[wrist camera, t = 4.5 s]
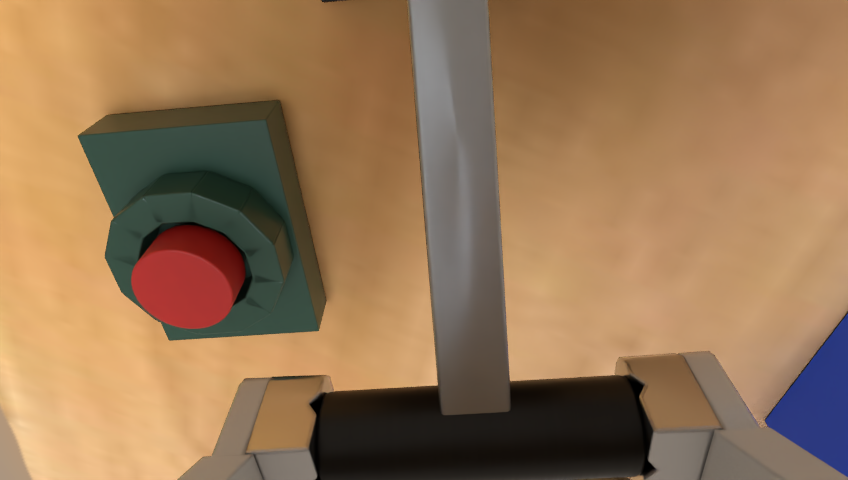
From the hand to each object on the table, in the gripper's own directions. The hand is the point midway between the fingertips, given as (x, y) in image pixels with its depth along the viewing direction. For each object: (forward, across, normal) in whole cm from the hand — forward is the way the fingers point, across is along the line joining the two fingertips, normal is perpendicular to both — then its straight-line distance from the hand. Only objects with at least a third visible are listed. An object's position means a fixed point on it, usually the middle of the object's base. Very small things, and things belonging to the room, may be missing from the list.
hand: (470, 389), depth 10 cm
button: (+11, +10, +4) cm, 15 cm away
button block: (+14, +10, +4) cm, 18 cm away
